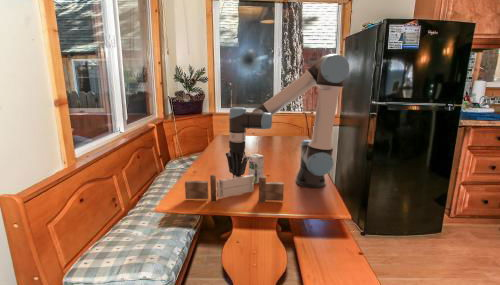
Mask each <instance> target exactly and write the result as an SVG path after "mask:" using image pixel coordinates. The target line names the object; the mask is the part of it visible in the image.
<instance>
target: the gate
mask: <svg viewBox="0 0 500 285" xmlns="http://www.w3.org/2000/svg"><path fill="white" fill-rule="evenodd" d="M254 184H255V183H254V176H253V175H249V174H248V175H241V176H240V177H234V178H233V177H229V178H224V179H218V180H216V198H218V199H220V198H227V197H231V196H235V195H236V196H237V195H241V194H246V193H251V192H254V191H255V190H254Z"/></svg>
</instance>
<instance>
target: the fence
mask: <svg viewBox="0 0 500 285" xmlns="http://www.w3.org/2000/svg"><path fill="white" fill-rule="evenodd" d="M209 177H210V201H211V202H212V203H213V202H216V201H217V180H216V178H217V175H216V174H210V176H209ZM284 186H285V183H284V182H280V181H279V182H275V181H272V182H269V181H267V176H266V175H265V174H263V175H259V183H258V203H259V204H265V203H266V201H271V202H272V201H273V202H282V201H284V193H285V192H284V189H285V188H284ZM184 190H185V191H184V192H185V194H184V195H185V199H186V200H208V199H209V181H208V180H185V182H184Z"/></svg>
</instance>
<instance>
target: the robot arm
mask: <svg viewBox="0 0 500 285" xmlns="http://www.w3.org/2000/svg"><path fill="white" fill-rule="evenodd" d="M349 73H350V63H349V61H348V60H347V58H346V57H345V56H343V55H342V54H340V53H339V54H338V53H330V54H326V55H323V56H321V57H319V58H318V59H317V60H316V61H315V62H314V63H313V64H312V65H310V66H309V67H308V68H307V69H305V71H304V73H303V74H302V75H301V76H299V77H298V78H297V79H295V80H293V82H291V83H290V84H288V85H287V86H286V87H284V88H283V89H281V90H280V91H279V92H277V93H276V94H274V95H273V96H272V97H270V98H269V99H268V100H266V101H265V102H264V103H263V104H261V105H260V106H258V107H256V108H254V109H253V110H252V111H251V112H250V111H247V109H246V107H243V106H233V107H231V108H230V109H229V117H228V119H229V120H228V121H229V122H228V124H229V127H228V129H229V131H228V132H229V133H228V135H229V136H228V137H229V141H228V148H229V151H228V152H226V153H225V157H226V159H227V160H226V161H227V165H228V166H227V167H228V171H229V173H230V174H232V178H234V177H240V176H245V174H246V173H245V172H246V169H247V164H248V162H249V156H247V155H246V151H245V150H246V135H247V134H246V129H251V130H252V129H254V130H270V129H272V126H273V116H275V115H276V114H277V113H278V112H280V111H281V110H283V109H284V108H286V107H287V106H288V105H289V104H291V103H292V102H294V101H295V100H296V99H298V98H300V96H302V95H304V94H305V93H306V92H308V91H309V90H311V89H312V88H314V87H317V88H318V95H317V102H316V110H315V115H314V121H313V129H312V136H311V139H303V140H302V141H301V145H300V164H299V166H300V167H299V170H298V172H297V175H296V179H295V181H296V183H297V185H299V186H302V187H305V188H311V189H312V188H313V189H319V188H322V187H324V186H326V177H325V176H326V175H327V174H329V173H330V172H331V171H332V170H333V167H334V159H333V150H334V146H333V145H332V137H333V130H334V129H333V128H334V124H335V118H336V111H337V105H338V99H339V98H338V97H339V93H340V90H342V89H343V88H344V84H345V80H346V79H347V77H348V75H349Z"/></svg>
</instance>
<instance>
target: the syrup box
mask: <svg viewBox="0 0 500 285" xmlns="http://www.w3.org/2000/svg"><path fill="white" fill-rule="evenodd" d="M248 157H249V160H248V175H253V176H254V183H253V184H255V185H256V184H257V185H258V184H259V175H264V158H265V157H264V155H262V154H258V153H251V154H250V155H248Z"/></svg>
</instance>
